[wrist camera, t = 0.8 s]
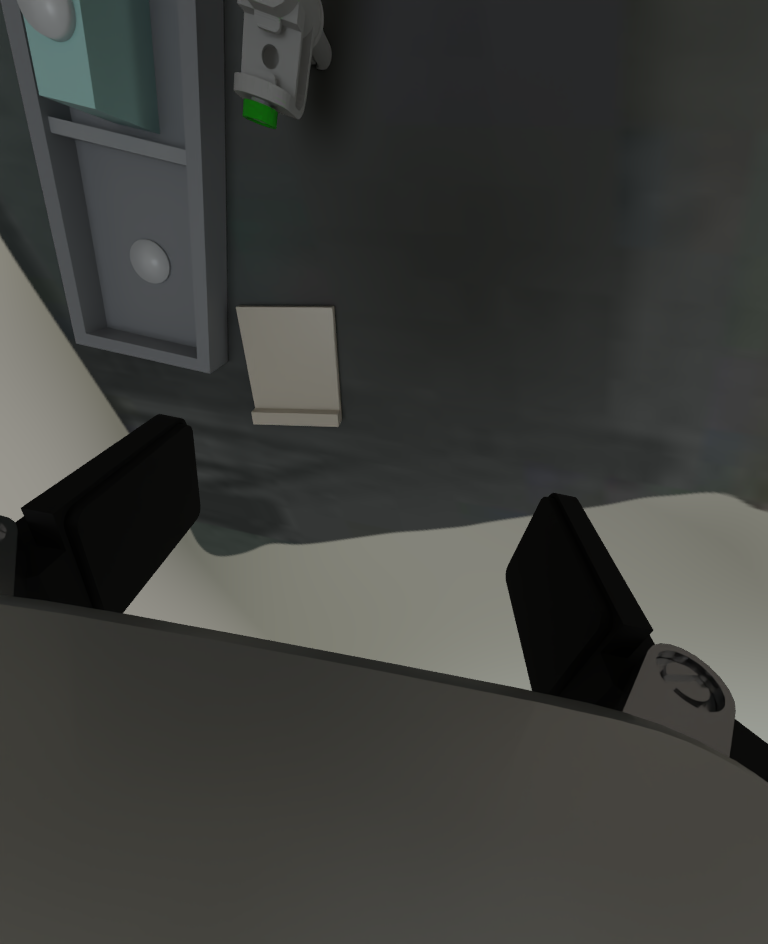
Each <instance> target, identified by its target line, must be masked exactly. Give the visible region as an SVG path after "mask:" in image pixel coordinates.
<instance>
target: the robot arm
mask: <svg viewBox="0 0 768 944" xmlns="http://www.w3.org/2000/svg"><path fill="white" fill-rule="evenodd" d="M21 510H22V512H23V514H24V517H22V518H21V519H19V520H18V521H17V522H14V521H13V520H11V519H10V518H8V517H4V516H0V944H768V744H767V743H766V742H764V741H763V740H762V739H761V738H759V737H758V736H757V735H755V734H754V733H752V732H751V731H750V730H749V729H747V728H746V727H745V726H743V725H742V724H741V723H740V722H738V721H737V720H735V711H736V710H735V702H734V699H733V697H732V695H731V693H730V691H729V689H728V688H727V686H726V685H725V683H724V682H723V681H722V679H721V678H720V677H719V676H718V675H717V674H716V673H715V672H714V671H713V670H712V669H711V668H710V667H709V666H708V665H707V664H705V663H704V662H703V661H702V660H700V659H699V658H698V657H696V656H695V655H693V654H691V653H689V652H688V651H685V650H684V649H682V648H679V647H676V646H674V645H671V644H662V643H660V644H656V645H655V644H654V642H653V640H652V639H651V637H650V633H651V632H652V631H653V629H652V627H651V625H650V624H649V622H648V620H647V618H646V617H645V615H644V613H643V611H642V610H641V608H640V606H639V605H638V603H637V601H636V599H635V598H634V596H633V594H632V592H631V591H630V589H629V587H628V586H627V584H626V582H625V580H624V579H623V577H622V575H621V573H620V572H619V570H618V568H617V567H616V565H615V563H614V562H613V560H612V558H611V556H610V555H609V553H608V551H607V549H606V547H605V546H604V544H603V542H602V541H601V539H600V537H599V536H598V534H597V532H596V530H595V528H594V527H593V525H592V523H591V522H590V520H589V518H588V517H587V515H586V513H585V511H584V509H583V508H582V506H581V504H580V503H579V501H578V499H577V498H576V497H572V496H567V495H562V494H557V493H552V494H551V495H549V497H543V498H542V499H541V501H540V503H539V505H538V507H537V509H536V511H535V513H534V515H533V517H532V519H531V521H530V523H529V525H528V527H527V529H526V531H525V533H524V535H523V537H522V539H521V541H520V543H519V544H518V547H517V549H516V551H515V552H514V554H513V556H512V559H511V560H510V563H509V564H508V567H507V570H506V583H507V587H508V591H509V595H510V600H511V604H512V608H513V612H514V617H515V621H516V625H517V629H518V633H519V638H520V642H521V646H522V650H523V654H524V659H525V662H526V667H527V671H528V676H529V680H530V684H531V688H532V691H529V690H524V689H520V688H515V687H510V686H505V685H500V684H495V683H490V682H484V681H479V680H474V679H468V678H464V677H459V676H454V675H448V674H443V673H438V672H433V671H428V670H422V669H417V668H412V667H407V666H402V665H397V664H392V663H386V662H381V661H376V660H370V659H365V658H360V657H355V656H349V655H344V654H339V653H334V652H328V651H323V650H318V649H312V648H307V647H302V646H296V645H291V644H286V643H280V642H275V641H270V640H264V639H259V638H254V637H248V636H243V635H237V634H232V633H227V632H221V631H216V630H210V629H205V628H199V627H194V626H188V625H182V624H177V623H172V622H167V621H161V620H155V619H150V618H144V617H139V616H134V615H128V614H123V612H124V611H125V610H126V608H127V607H128V606H129V605H130V603H131V602H132V601H133V600H134V598H135V597H136V596H137V595H138V593H139V592H140V591H141V590H142V588H143V587H144V586H145V584H146V583H147V582H148V581H149V579H150V578H151V577H152V576H153V574H154V573H155V572H156V571H157V569H158V568H159V567H160V565H161V564H162V563H163V562H164V560H165V559H166V558H167V557H168V555H169V554H170V553H171V552H172V550H173V549H174V548H175V546H176V545H177V544H178V543H179V541H180V540H181V539H182V538H183V536H184V535H185V534H186V533H187V531H188V530H189V529H190V527H191V526H192V525H193V524H194V522H195V521H196V520H197V518H198V516H199V513H200V498H199V488H198V478H197V468H196V459H195V449H194V439H193V431H192V428H191V427H190V426H189V425H187V424H186V422H185V420H184V419H182V418H177V417H172V416H167V415H162V414H159V415H156V416H155V417H153V418H152V419H150V420H149V421H147V422H146V423H144V424H143V425H141V426H140V427H139V428H137V429H136V430H134V431H133V432H131V433H130V434H128V435H127V436H125V437H124V438H123V439H121V440H120V441H118V442H117V443H115V444H114V445H112V446H111V447H109V448H108V449H107V450H105V451H103V452H102V453H100V454H99V455H98V456H96V457H95V458H93V459H92V460H90V461H89V462H87V463H86V464H85V465H83V466H82V467H80V468H79V469H77V470H76V471H74V472H73V473H71V474H70V475H68V476H67V477H65V478H64V479H62V480H61V481H60V482H58V483H57V484H55V485H54V486H52V487H51V488H49V489H48V490H46V491H45V492H44V493H42V494H41V495H39V496H38V497H36V498H35V499H33V500H32V501H30V502H29V503H27V504H26V505H24V506H23V507H22V508H21Z"/></svg>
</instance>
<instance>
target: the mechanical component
mask: <svg viewBox="0 0 768 944" xmlns="http://www.w3.org/2000/svg"><path fill="white" fill-rule="evenodd" d="M237 3H238V4H239V6H240V7H241V8H242V9H243V11H244V27H243V46H242V66H241V73H240V72H236V73H235V74H234V92H235V93H236V94H237V95H239V96H240V97H241V98H243V99H244V103H243V117H245V118H246V119H248V120H250V121H253V122H255V123H257V124H260V125H263V126H266V127H269V128H272V129H276V125H277V115H278V113H281V114H284V115H287V116H290V117H293V118H296V119H300V118H301V117H302V115H303V112H304V108H305V104H306V98H307V90H308V82H309V74H310V65H311V64H316V62H317V67H316V68H317V69H320V70H325V69H327V68H328V66H329V65H330V62H331V58H332V51H331V47H330V44H329V42H328V40H327V38H326V36H325V33H324V31H323V25H324V13H323V7H322V3H321V0H238V1H237Z"/></svg>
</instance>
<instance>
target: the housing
mask: <svg viewBox="0 0 768 944" xmlns="http://www.w3.org/2000/svg"><path fill="white" fill-rule="evenodd" d="M1 4H2V9H3V13H4V18H5V23H6V27H7V32H8V36H9V41H10V45H11V50H12V54H13V59H14V63H15V68H16V72H17V77H18V82H19V86H20V91H21V95H22V100H23V104H24V109H25V113H26V118H27V122H28V127H29V131H30V136H31V141H32V145H33V150H34V154H35V159H36V163H37V168H38V172H39V177H40V181H41V186H42V191H43V195H44V200H45V204H46V209H47V213H48V218H49V222H50V227H51V231H52V236H53V240H54V245H55V250H56V254H57V259H58V263H59V268H60V272H61V277H62V281H63V286H64V290H65V295H66V299H67V304H68V309H69V313H70V318H71V322H72V327H73V331H74V336H75V340H76V343H77V344H81V345H86V346H90V347H95V348H99V349H103V350H108V351H112V352H117V353H121V354H126V355H130V356H134V357H139V358H143V359H148V360H152V361H157V362H161V363H165V364H170V365H174V366H179V367H183V368H188V369H192V370H197V371H201V372H205V373H211V372H213V371H215V370H216V369H218V368H219V367H221V366H222V365H224V364H225V363H227V362H228V318H227V240H226V163H225V86H224V9H223V0H1Z"/></svg>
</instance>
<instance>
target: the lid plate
mask: <svg viewBox="0 0 768 944" xmlns="http://www.w3.org/2000/svg"><path fill="white" fill-rule="evenodd" d="M236 311H237V316H238V321H239V326H240V331H241V337H242V342H243V347H244V352H245V357H246V363H247V368H248V373H249V378H250V383H251V388H252V394H253V399H254V404H255V409H254V410H253V411H252V412H251V413H252V418H253V423H254V424H261V425H295V426H329V427H339V424H340V422H341V420H342V413H341V398H340V383H339V369H338V354H337V340H336V325H335V310H334V306H245V305H240V306H237V307H236Z"/></svg>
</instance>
